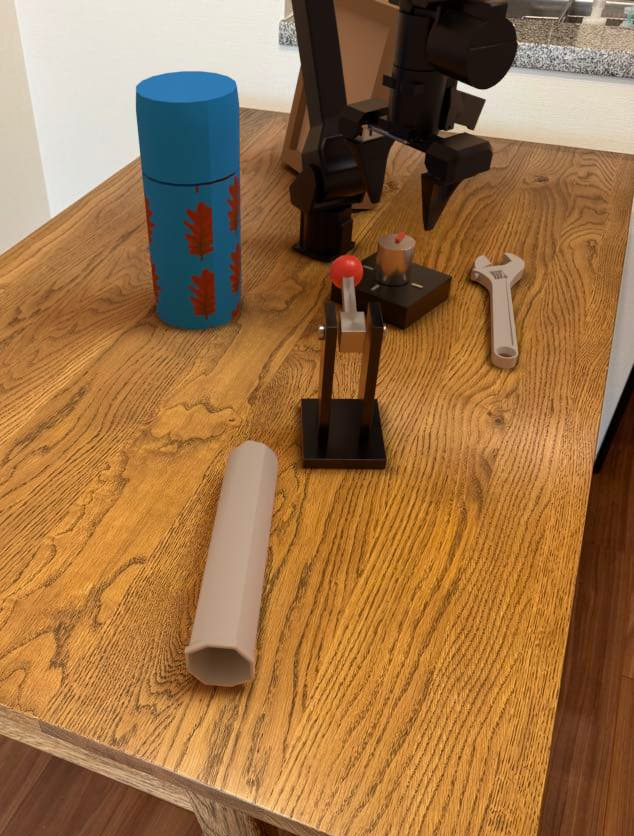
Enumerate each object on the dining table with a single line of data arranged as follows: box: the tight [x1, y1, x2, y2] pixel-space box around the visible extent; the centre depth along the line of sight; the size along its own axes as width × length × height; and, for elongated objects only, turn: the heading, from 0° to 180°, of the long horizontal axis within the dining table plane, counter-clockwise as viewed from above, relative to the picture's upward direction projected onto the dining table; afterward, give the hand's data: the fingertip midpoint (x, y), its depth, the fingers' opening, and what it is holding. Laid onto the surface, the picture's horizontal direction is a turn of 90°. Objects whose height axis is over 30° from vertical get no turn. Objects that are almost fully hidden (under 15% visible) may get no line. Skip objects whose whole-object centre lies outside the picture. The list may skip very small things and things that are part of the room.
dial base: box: [329, 251, 453, 331], centre depth 97 cm, size 11×10×3 cm
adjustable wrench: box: [469, 252, 526, 370], centre depth 95 cm, size 25×6×2 cm, turn 164°
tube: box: [183, 439, 279, 688], centre depth 66 cm, size 5×5×25 cm
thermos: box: [135, 70, 242, 331], centre depth 89 cm, size 11×11×25 cm
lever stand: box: [300, 301, 388, 470], centre depth 74 cm, size 10×8×14 cm
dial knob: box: [374, 231, 417, 286], centre depth 94 cm, size 4×4×5 cm
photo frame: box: [280, 0, 399, 210], centre depth 116 cm, size 15×22×25 cm
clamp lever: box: [329, 254, 366, 354], centre depth 73 cm, size 12×3×3 cm, turn 178°
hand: (401, 216), depth 91 cm, fingers open, 9 cm apart
